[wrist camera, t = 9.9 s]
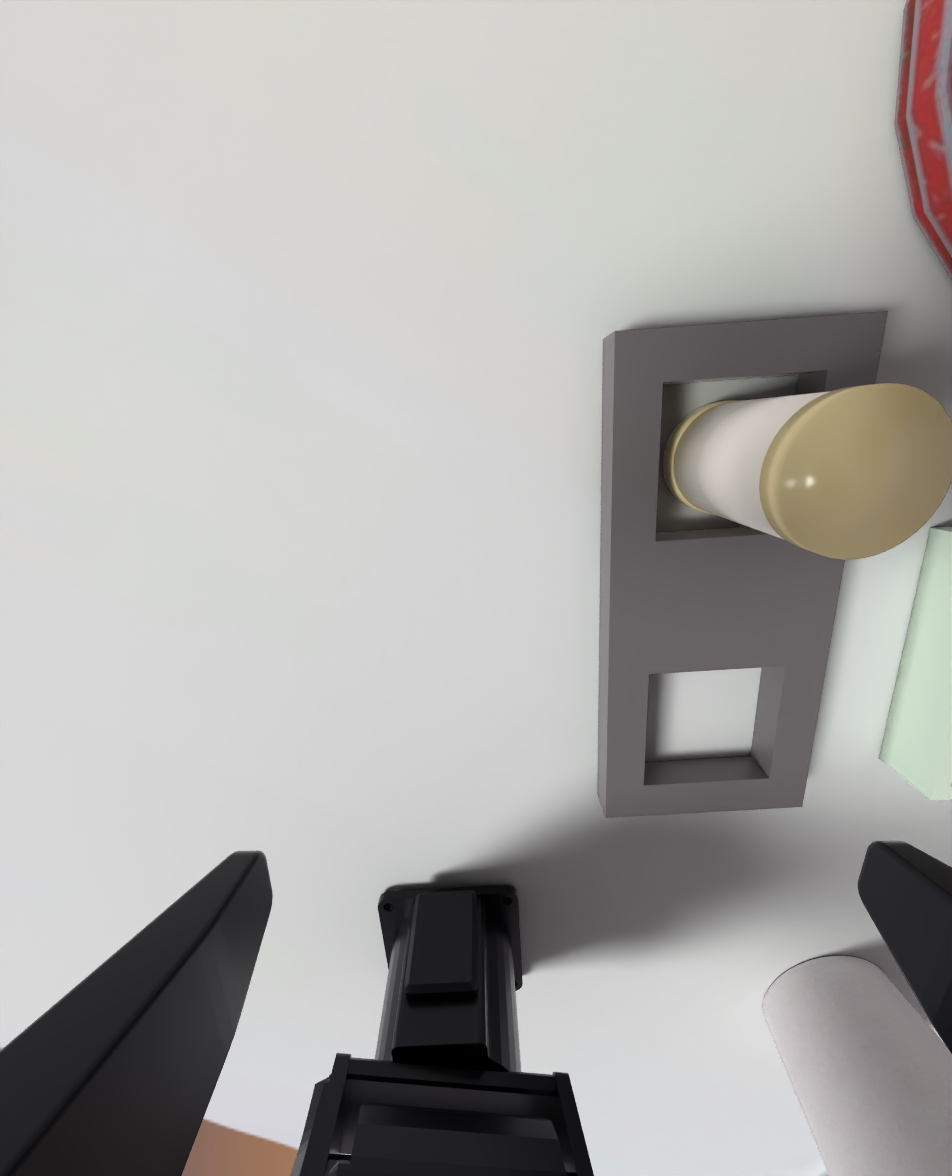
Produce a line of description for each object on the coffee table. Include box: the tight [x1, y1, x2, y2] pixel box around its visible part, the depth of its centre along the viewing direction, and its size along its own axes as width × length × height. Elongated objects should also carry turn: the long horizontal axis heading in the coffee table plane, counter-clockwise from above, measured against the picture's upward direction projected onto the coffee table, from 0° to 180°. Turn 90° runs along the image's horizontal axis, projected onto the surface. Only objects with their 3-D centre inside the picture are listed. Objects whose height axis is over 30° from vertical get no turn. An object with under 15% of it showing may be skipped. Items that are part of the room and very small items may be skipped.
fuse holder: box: [597, 311, 887, 818], centre depth 18 cm, size 18×8×1 cm, turn 4°
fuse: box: [663, 383, 952, 559], centre depth 14 cm, size 4×4×7 cm
